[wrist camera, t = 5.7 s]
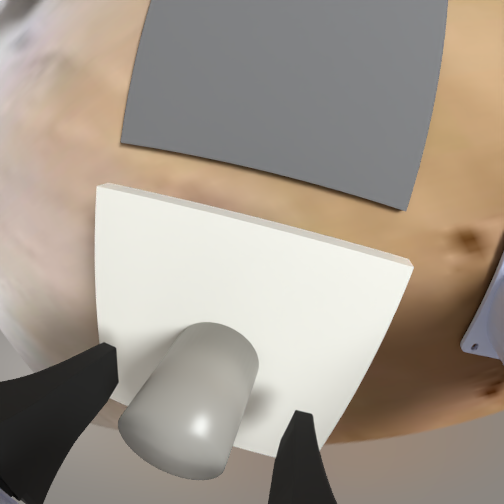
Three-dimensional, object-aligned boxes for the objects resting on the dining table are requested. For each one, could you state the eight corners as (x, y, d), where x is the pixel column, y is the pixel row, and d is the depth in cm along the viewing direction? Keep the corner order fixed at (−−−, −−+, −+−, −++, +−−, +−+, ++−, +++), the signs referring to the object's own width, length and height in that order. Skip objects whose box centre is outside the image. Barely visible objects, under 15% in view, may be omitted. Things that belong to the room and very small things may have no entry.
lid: (408, 259, 11) (463, 357, 5) (311, 453, 15) (297, 543, 10) (108, 182, 12) (-3, 219, 7) (113, 387, 17) (60, 454, 11)
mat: (447, -42, 9) (449, -45, 8) (404, 209, 14) (405, 211, 14) (184, -80, 11) (182, -83, 10) (124, 142, 16) (120, 142, 16)
